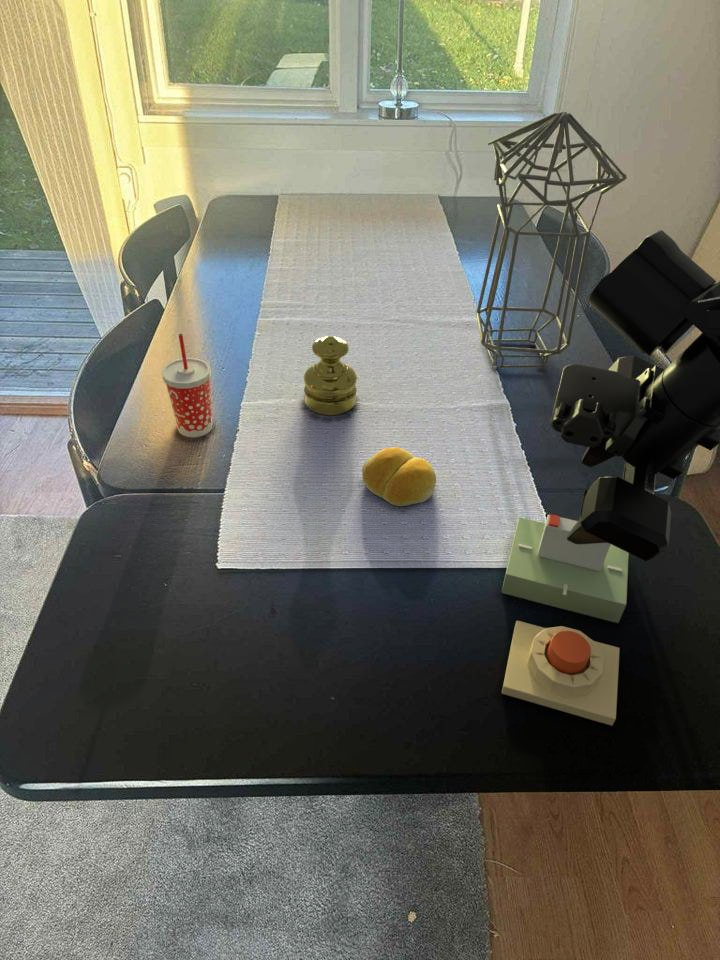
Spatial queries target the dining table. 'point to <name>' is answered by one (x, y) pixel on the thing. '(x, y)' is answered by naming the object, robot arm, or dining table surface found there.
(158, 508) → the dining table surface
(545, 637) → the button box
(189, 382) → the beverage cup
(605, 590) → the panel
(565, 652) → the button
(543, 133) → the geometric lantern
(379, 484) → the bread roll
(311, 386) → the gold tiered piece
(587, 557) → the white switch lever
